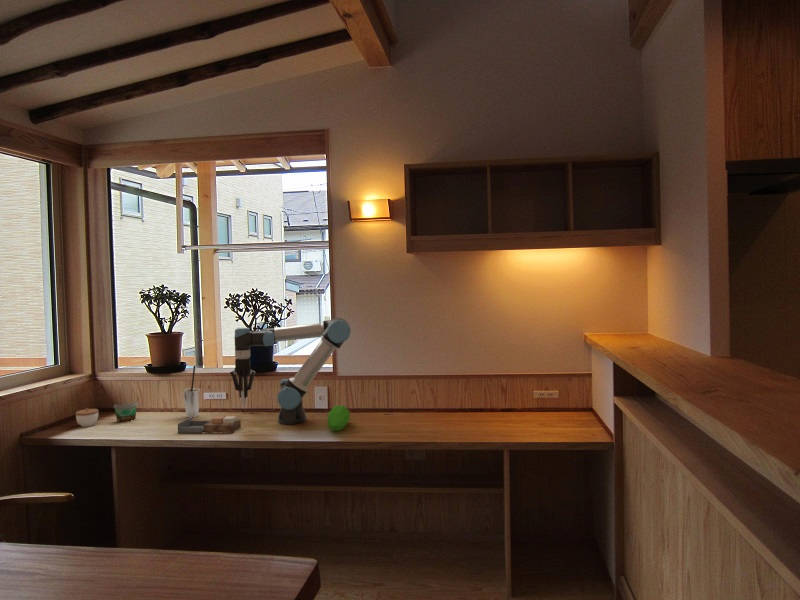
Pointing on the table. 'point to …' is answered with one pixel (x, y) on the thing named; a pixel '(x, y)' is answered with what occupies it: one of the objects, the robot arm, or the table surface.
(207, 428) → the walnut board
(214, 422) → the terracotta tile
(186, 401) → the utensil holder
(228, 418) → the cream tile
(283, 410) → the robot arm
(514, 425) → the table surface
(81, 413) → the lidded jar
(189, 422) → the tray
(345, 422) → the green oblong piece
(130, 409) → the food container
